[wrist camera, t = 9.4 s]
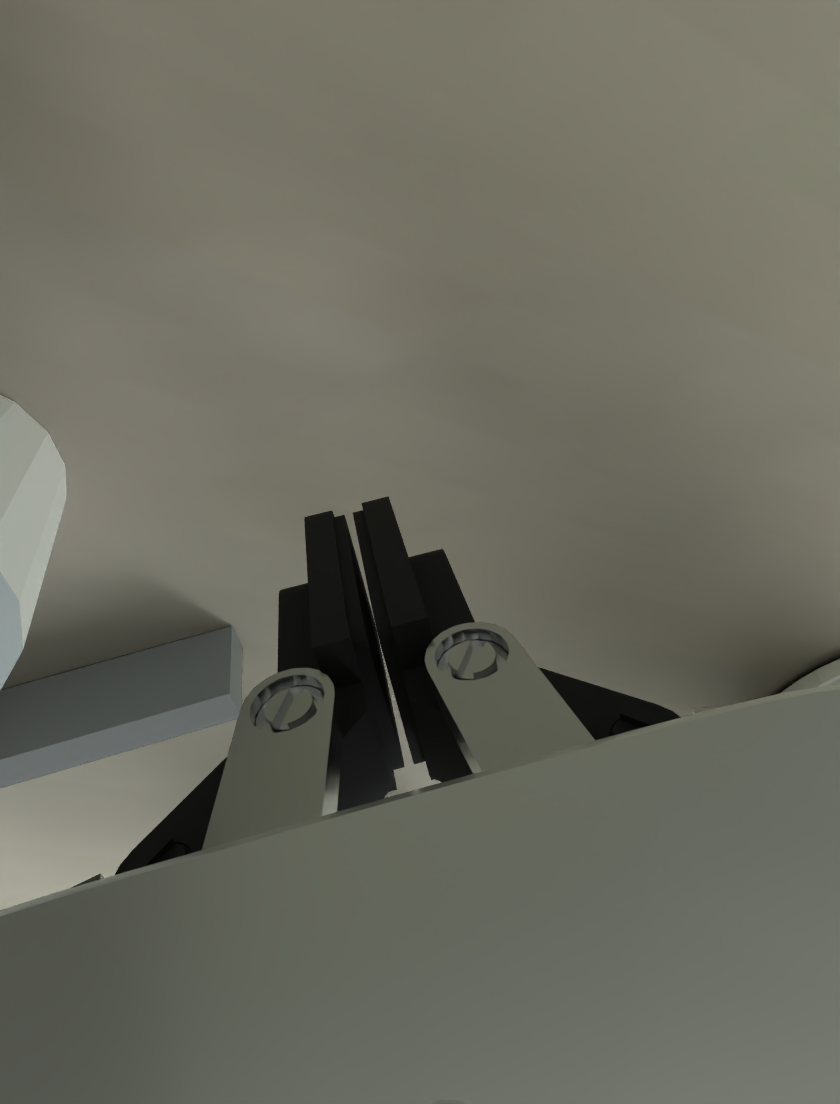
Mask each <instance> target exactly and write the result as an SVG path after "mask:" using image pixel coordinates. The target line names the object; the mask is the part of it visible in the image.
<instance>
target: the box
mask: <svg viewBox="0 0 840 1104" xmlns="http://www.w3.org/2000/svg"><path fill="white" fill-rule="evenodd" d="M241 707H242V647H241V645H240V642H239V640H238V638H237V636H236V634H235V631H234V629H233V627H232V626H230V627H226V628H222V629H219V630H215V631H212V632H208V633H204V634H201V635H197V636H194V637H190V638H186V639H183V640H179V641H176V642H172V643H169V644H165V645H161V646H158V647H154V648H151V649H147V650H143V651H140V652H136V653H133V654H129V655H125V656H122V657H118V658H115V659H111V660H107V661H104V662H100V663H97V664H93V665H89V666H86V667H82V668H79V669H75V670H72V671H68V672H64V673H61V674H57V675H54V676H50V677H46V678H43V679H39V680H36V681H32V682H28V683H25V684H21V685H18V686H14V687H10V688H7V689H3V690H0V788H3V787H7V786H10V785H13V784H17V783H20V782H24V781H27V780H31V779H34V778H37V777H41V776H44V775H48V774H51V773H54V772H58V771H61V770H65V769H68V768H71V767H75V766H78V765H82V764H85V763H88V762H92V761H95V760H99V759H102V758H105V757H109V756H112V755H116V754H119V753H123V752H126V751H129V750H133V749H136V748H140V747H143V746H146V745H150V744H153V743H157V742H160V741H163V740H167V739H170V738H174V737H177V736H180V735H184V734H187V733H191V732H194V731H198V730H201V729H204V728H208V727H211V726H215V725H218V724H221V723H225V722H228V721H232V720H235V719H238V716H239V713H240V709H241Z"/></svg>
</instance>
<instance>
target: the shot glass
mask: <svg viewBox="0 0 840 1104" xmlns="http://www.w3.org/2000/svg"><path fill="white" fill-rule="evenodd" d="M66 499H67V497H66V466H65V464H64V462H63V460H62V458H61V456H60V454H59V452H58V450H57V449H56V447H55V445H54V443H53V441H52V439H51V437H50V435H49V433H48V432H47V431H46V430H45V429H44V428H43V427H42V426H41V425H40V424H39V423H38V422H36V421H35V420H34V419H33V418H32V417H31V416H30V415H29V414H28V413H27V412H26V411H25V410H24V409H22V408H21V407H20V406H19V405H18V404H17V403H16V402H14V401H12V400H10V399H8V398H6V397H4V396H2V395H0V690H1V689H2V687H3V685H4V683H5V681H6V680H7V678H8V676H9V674H10V672H11V671H12V669H13V667H14V665H15V663H16V662H17V660H18V658H19V656H20V654H21V653H22V651H23V648H24V645H25V641H26V638H27V635H28V631H29V628H30V624H31V621H32V617H33V614H34V610H35V607H36V603H37V600H38V596H39V593H40V589H41V586H42V582H43V579H44V575H45V572H46V568H47V565H48V561H49V558H50V554H51V551H52V547H53V544H54V540H55V537H56V533H57V530H58V526H59V523H60V519H61V516H62V512H63V509H64V505H65V502H66Z"/></svg>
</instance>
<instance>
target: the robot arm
mask: <svg viewBox="0 0 840 1104" xmlns="http://www.w3.org/2000/svg"><path fill="white" fill-rule="evenodd" d="M362 506H363V510H362V511H358V512H354V513H353V516H354V521H355V526H356V531H357V536H358V541H359V546H360V550H361V555H362V560H363V565H364V570H365V575H366V580H367V585H368V590H369V594H370V599H371V604H372V609H373V614H374V618H373V615H372V611H371V608H370V604H369V601H368V597H367V593H366V590H365V586H364V583H363V579H362V575H361V572H360V568H359V565H358V561H357V558H356V554H355V550H354V547H353V543H352V540H351V536H350V533H349V529H348V525H347V522H346V518H345V515H342V516H338V517H334V515H333V512H332V511H328V512H324V513H320V514H316V515H312V516H308V517H305V519H304V520H305V538H306V555H307V573H308V583H306V584H302V585H298V586H294V587H290V588H286V589H282V590H280V591H279V623H278V673H277V674H275V675H273V676H271V677H269V678H266V679H265V680H264V681H263V682H261V683H260V684H259V685H257V686H256V687H255V688H254V689H253V690H252V691H251V692H250V694H249V695H248V696H247V697H246V698H245V701H244V703H243V705H242V707H241V709H240V713H239V716H238V720H237V724H236V727H235V731H234V735H233V738H232V742H231V745H230V749H229V753H228V756H227V757H226V758H225V759H224V760H223V761H222V762H221V763H220V764H219V765H218V766H217V767H216V768H215V769H214V770H213V771H212V772H211V773H210V774H209V775H208V776H207V777H206V778H205V779H204V780H203V781H202V782H201V783H200V784H199V785H198V786H197V787H196V788H195V789H194V790H193V791H192V792H191V793H190V794H189V795H188V796H187V797H186V798H185V799H184V800H183V801H182V802H181V803H180V804H179V805H178V806H177V807H176V808H175V809H174V810H173V811H172V812H171V813H170V814H169V815H168V816H167V817H166V818H165V819H164V820H163V821H162V822H161V823H160V824H159V825H158V826H157V827H156V828H155V829H154V830H153V831H152V832H151V833H149V834H148V835H147V836H146V837H145V838H144V839H143V840H142V841H141V842H140V843H139V844H138V845H137V846H136V847H135V848H134V849H133V850H132V852H131V853H130V854H129V855H128V856H127V858H126V859H125V860H124V861H123V862H122V864H121V865H120V866H119V868H118V870H117V872H116V874H115V875H114V876H110V877H107V878H104V877H103V876H102V875H101V874H98V875H96V876H94V877H92V878H90V879H88V880H86V881H84V882H82V883H80V884H78V885H76V886H74V887H72V888H70V889H66V890H63V891H59V892H56V893H53V894H50V895H47V896H43V897H40V898H37V899H34V900H31V901H28V902H25V903H22V904H19V905H15V906H12V907H9V908H6V909H3V910H0V1104H840V659H838V660H836V661H833V662H831V663H829V664H827V665H824V666H822V667H820V668H818V669H816V670H815V671H813V672H811V673H809V674H808V675H806V676H804V677H802V678H801V679H799V680H798V681H796V682H795V683H793V684H792V685H791V686H789V687H788V688H786V689H785V690H784V691H782V692H781V693H780V694H776V695H771V696H767V697H763V698H759V699H754V700H750V701H746V702H741V703H737V704H732V705H728V706H717V707H704V708H693V713H692V715H689V716H685V717H679V716H678V715H677V714H676V713H674V712H673V711H671V710H668V709H666V708H664V707H662V706H659V705H657V704H654V703H650V702H647V701H644V700H641V699H638V698H635V697H631V696H628V695H625V694H622V693H619V692H615V691H612V690H609V689H606V688H603V687H599V686H596V685H593V684H590V683H587V682H584V681H580V680H577V679H574V678H571V677H568V676H564V675H561V674H558V673H555V672H552V671H548V670H545V669H542V668H539V667H538V666H537V665H536V664H535V663H534V661H533V660H532V659H531V658H530V656H529V655H528V654H527V652H526V651H525V650H524V649H523V647H522V646H521V645H520V643H519V642H518V641H517V640H516V638H515V637H514V636H513V635H512V634H511V633H509V632H508V631H507V630H506V629H504V628H502V627H499V626H497V625H495V624H490V623H484V622H474V619H473V617H472V615H471V612H470V610H469V608H468V605H467V603H466V601H465V598H464V596H463V594H462V591H461V589H460V587H459V585H458V582H457V580H456V578H455V575H454V573H453V571H452V568H451V566H450V564H449V561H448V559H447V557H446V554H445V552H444V550H443V549H440V550H436V551H432V552H428V553H424V554H420V555H416V556H412V557H408V555H407V552H406V549H405V546H404V542H403V539H402V536H401V533H400V530H399V527H398V524H397V521H396V518H395V515H394V512H393V509H392V506H391V503H390V500H389V497H385V498H381V499H377V500H372V501H368V502H364V503H362ZM374 619H375V622H374ZM375 624H376V626H375ZM376 628H377V630H376ZM377 632H378V634H377ZM378 636H379V639H378ZM379 640H380V644H381V648H382V651H383V655H384V658H385V662H386V665H387V669H388V673H389V676H390V680H391V683H392V687H393V691H394V694H395V698H396V701H397V705H398V708H399V712H400V716H401V719H402V723H403V726H404V730H405V734H406V737H407V741H408V744H409V748H410V751H411V755H412V759H413V762H414V764H417V763H420V762H424V761H426V764H427V768H428V772H429V775H430V777H431V780H433V779H436V780H438V781H441V782H442V783H439V784H435V785H431V786H428V787H424V788H421V789H417V790H413V791H410V792H406V793H403V794H399V795H395V796H392V797H388V798H385V799H383V798H384V797H385V795H386V794H387V793H388V792H390V791H394V790H397V788H396V782H395V777H394V771H393V770H395V769H399V768H402V767H404V761H403V756H402V751H401V746H400V742H399V737H398V732H397V727H396V722H395V717H394V712H393V707H392V702H391V697H390V693H389V688H388V683H387V678H386V673H385V668H384V663H383V658H382V653H381V648H380V644H379Z"/></svg>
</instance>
